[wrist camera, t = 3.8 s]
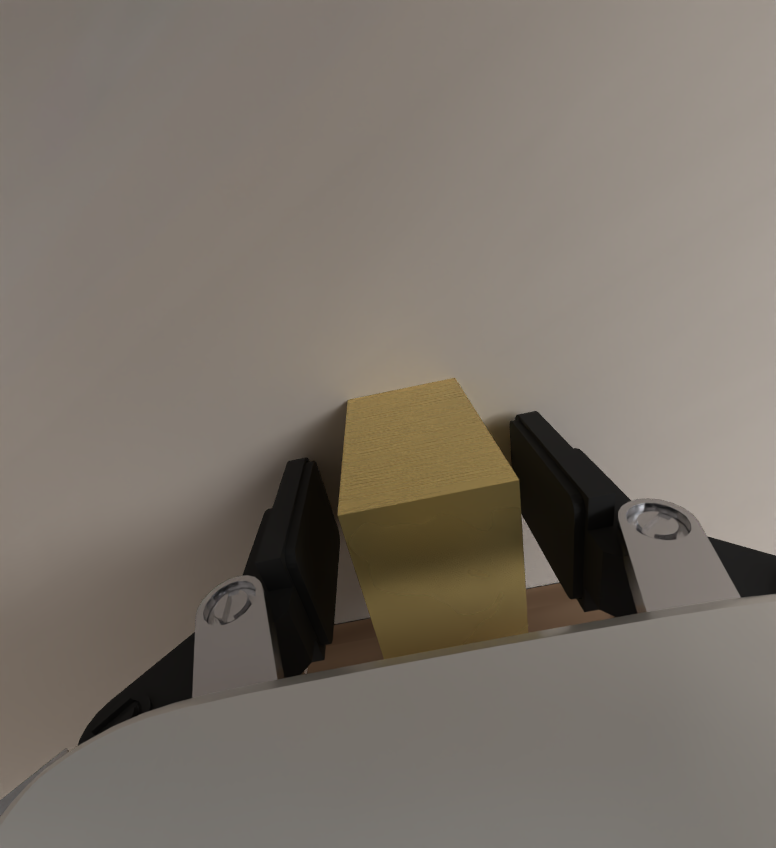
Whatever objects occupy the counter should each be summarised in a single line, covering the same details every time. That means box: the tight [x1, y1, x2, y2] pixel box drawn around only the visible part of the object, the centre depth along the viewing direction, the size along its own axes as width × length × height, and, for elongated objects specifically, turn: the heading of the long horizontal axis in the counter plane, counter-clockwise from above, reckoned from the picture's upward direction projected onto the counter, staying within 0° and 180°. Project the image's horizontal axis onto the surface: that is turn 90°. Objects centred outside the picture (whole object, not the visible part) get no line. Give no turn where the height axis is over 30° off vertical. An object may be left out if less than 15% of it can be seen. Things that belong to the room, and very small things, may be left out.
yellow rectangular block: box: [338, 378, 528, 659], centre depth 10 cm, size 6×3×5 cm, turn 11°
